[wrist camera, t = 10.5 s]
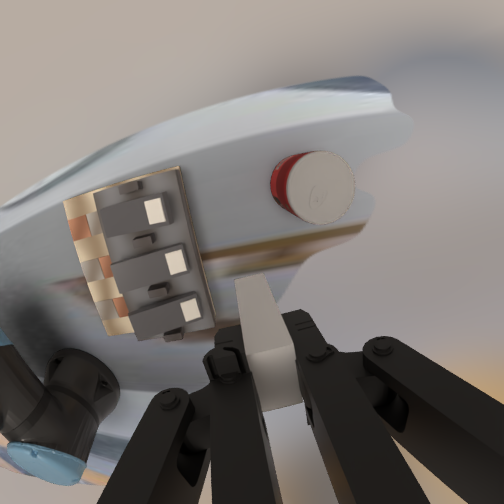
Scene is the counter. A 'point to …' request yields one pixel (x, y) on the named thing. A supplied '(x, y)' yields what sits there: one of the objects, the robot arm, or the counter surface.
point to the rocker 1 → (137, 215)
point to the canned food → (314, 186)
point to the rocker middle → (150, 268)
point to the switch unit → (137, 252)
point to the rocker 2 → (165, 315)
